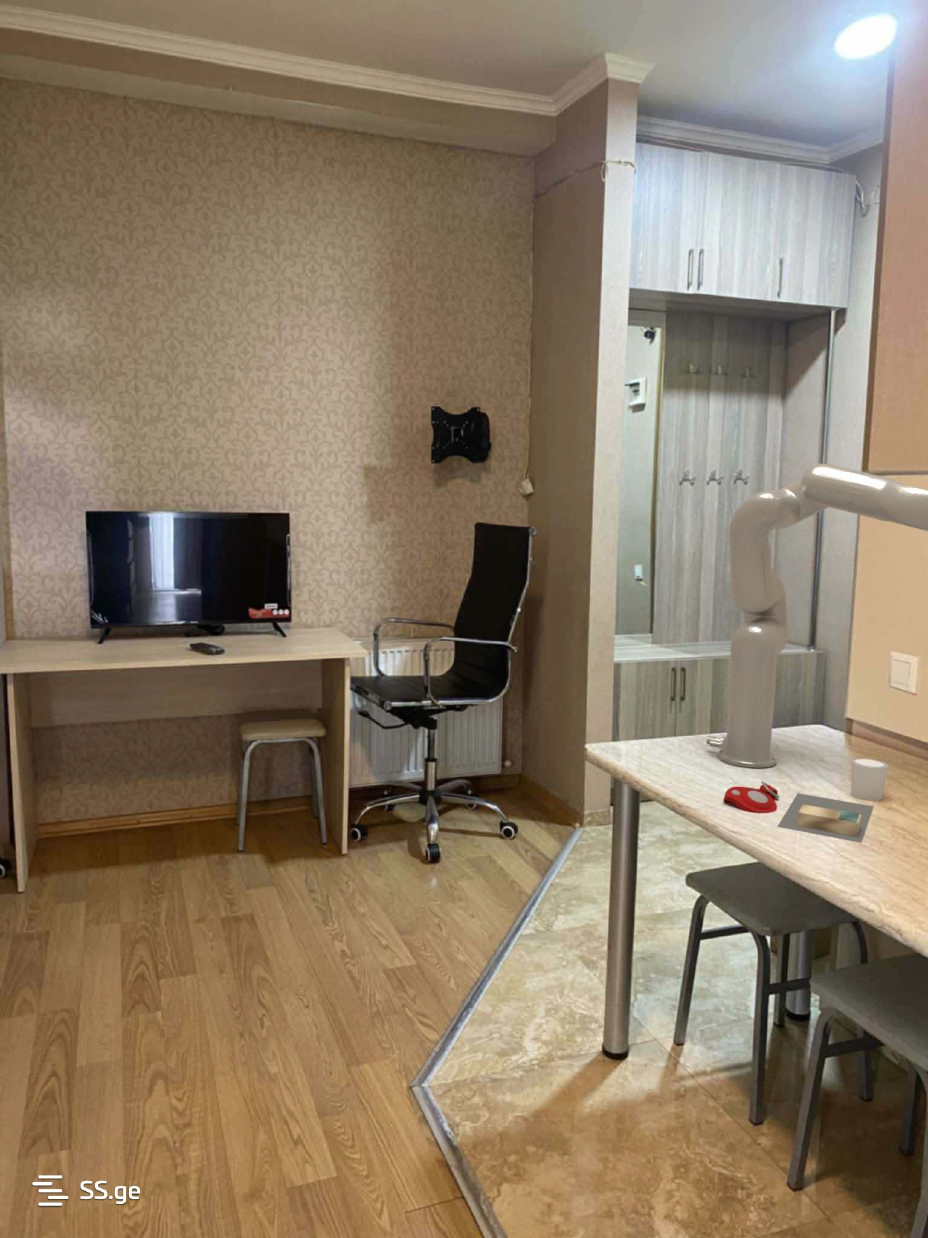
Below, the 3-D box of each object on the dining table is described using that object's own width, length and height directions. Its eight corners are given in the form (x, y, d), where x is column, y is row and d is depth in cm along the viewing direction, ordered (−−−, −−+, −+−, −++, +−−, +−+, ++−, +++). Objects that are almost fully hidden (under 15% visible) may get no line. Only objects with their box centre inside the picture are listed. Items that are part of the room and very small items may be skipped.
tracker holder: (779, 815, 176) (726, 795, 179) (771, 834, 178) (718, 814, 181) (783, 782, 187) (733, 765, 189) (776, 801, 189) (726, 783, 191)
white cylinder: (881, 804, 187) (885, 769, 186) (844, 797, 191) (848, 763, 190) (887, 795, 193) (890, 761, 192) (851, 788, 197) (854, 755, 196)
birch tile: (797, 825, 172) (798, 811, 171) (801, 817, 176) (802, 803, 176) (856, 836, 167) (858, 822, 167) (859, 828, 172) (861, 813, 171)
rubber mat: (777, 829, 171) (777, 826, 171) (797, 796, 190) (797, 793, 190) (861, 845, 165) (861, 842, 165) (873, 809, 184) (873, 806, 184)
